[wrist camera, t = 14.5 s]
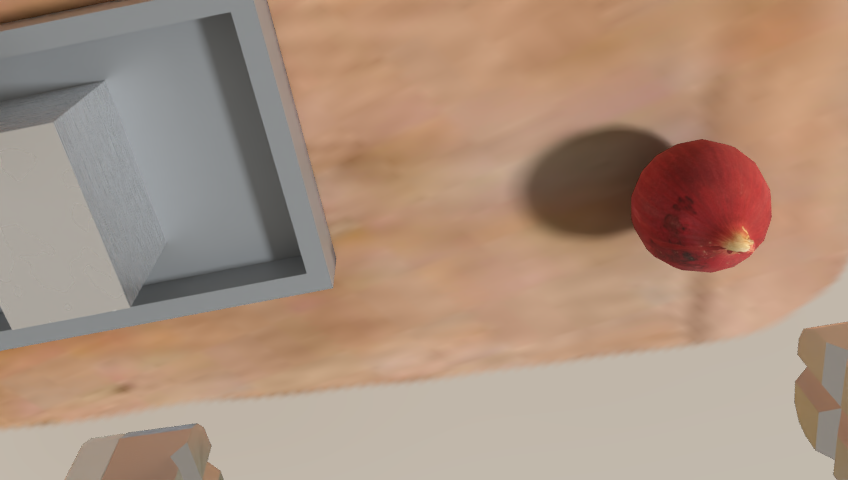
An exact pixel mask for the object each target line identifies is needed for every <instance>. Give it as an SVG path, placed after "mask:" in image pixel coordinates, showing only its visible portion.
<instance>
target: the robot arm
mask: <svg viewBox="0 0 848 480" xmlns="http://www.w3.org/2000/svg"><path fill="white" fill-rule="evenodd" d="M797 355H798V356H799V357H800V358H801V359H802V361H803V362H804V363H805V365H806V366H807V368H806V369H805V370H804V371H803V372H802V374H801V375H800V376H799V377H798V379H797V380H796V381H795V398H794V399H795V400H794V402H795V407H796V411H797V416H798V420H799V423H800V425H801V427H802V429H803V432H804V434H805V436H806V437H807V439H808V440H809V442H810V443H811V445H812V446H813V448H814V449H815V450H816V451H818V452H820V453H822V454H824V455H826V456H828V457H830V458H832V459H834V460H835V463H834V472H833V475H834V477H835V478H836V479H837V480H848V322H843V323H837V324H830V325H824V326H818V327H812V328H806V329H803V331H802V333H801V336H800V338H799V343H798V354H797ZM210 449H211V444H210V442H209V439H208V436H207V434H206V432H205V429H204V427H202V426H201V425H199V424H189V425H182V426H174V427H167V428H159V429H152V430H144V431H137V432H129V433H126V434H117V435H110V436H104V437H97V438H91V439H90V440H88V441H87V442H85V443H84V444H83V445H82V446H81V448H80V450H79V452H78V454H77V456H76V458H75V460H74V462H73V464H72V467H71V468H70V470H69V472H68V474H67V476H66V478H65V480H223V476H222V474H221V471H220V470H219V469H217V468H216V467H214V466H213V465H211V464H210V463H208V462H207V460H208V457H209V453H210Z"/></svg>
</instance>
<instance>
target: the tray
mask: <svg viewBox="0 0 848 480" xmlns="http://www.w3.org/2000/svg"><path fill="white" fill-rule="evenodd" d="M104 80H106V83H107V85H108V88H109V91H110V93H111V96H112V99H113V101H114V104H115V107H116V109H117V112H118V115H119V117H120V120H121V123H122V125H123V128H124V131H125V133H126V136H127V139H128V141H129V144H130V147H131V149H132V152H133V155H134V157H135V160H136V163H137V165H138V168H139V170H140V173H141V176H142V178H143V181H144V184H145V186H146V189H147V192H148V194H149V197H150V200H151V202H152V205H153V208H154V210H155V213H156V216H157V218H158V221H159V224H160V226H161V229H162V232H163V234H164V237H165V240H166V242H167V243H166V245H165V246H164V248H163V250H162V252H161V254H160V255H159V257H158V259H157V261H156V263H155V264H154V266H153V268H152V270H151V272H150V273H149V275H148V277H147V279H146V280H145V282H144V284H143V286H142V288H141V289H140V291H139V293H138V295H137V297H136V298H135V300H134V302H133V304H132V306H131V307H130V308H127V309H122V310H116V311H111V312H106V313H100V314H95V315H90V316H85V317H79V318H74V319H69V320H63V321H58V322H53V323H47V324H42V325H37V326H32V327H26V328H21V329H16V330H12V329H11V327H10V325H9V323H8V321H7V319H6V317H5V315H4V313H3V311H2V309H1V307H0V351H2V350H7V349H12V348H17V347H23V346H28V345H33V344H39V343H44V342H49V341H55V340H60V339H65V338H71V337H76V336H81V335H87V334H92V333H97V332H102V331H108V330H113V329H118V328H124V327H129V326H134V325H140V324H145V323H150V322H156V321H161V320H166V319H171V318H177V317H182V316H187V315H193V314H198V313H203V312H209V311H214V310H219V309H225V308H230V307H235V306H240V305H246V304H251V303H256V302H262V301H267V300H272V299H278V298H283V297H288V296H294V295H299V294H304V293H310V292H315V291H320V290H325V289H331V288H333V284H334V275H335V266H336V256H335V252H334V248H333V244H332V241H331V237H330V233H329V230H328V226H327V222H326V218H325V215H324V211H323V207H322V203H321V200H320V196H319V192H318V189H317V185H316V181H315V177H314V174H313V170H312V166H311V162H310V159H309V155H308V151H307V148H306V144H305V140H304V136H303V133H302V129H301V125H300V122H299V118H298V114H297V110H296V107H295V103H294V99H293V95H292V92H291V88H290V84H289V81H288V77H287V73H286V69H285V66H284V62H283V58H282V54H281V51H280V47H279V43H278V40H277V36H276V32H275V28H274V25H273V21H272V17H271V13H270V10H269V6H268V2H267V0H115V1H110V2H105V3H100V4H96V5H91V6H86V7H81V8H76V9H71V10H66V11H61V12H56V13H51V14H47V15H42V16H37V17H32V18H27V19H22V20H17V21H12V22H7V23H3V24H0V101H4V100H9V99H14V98H19V97H24V96H29V95H34V94H39V93H44V92H49V91H54V90H59V89H64V88H69V87H74V86H79V85H84V84H89V83H94V82H99V81H104Z"/></svg>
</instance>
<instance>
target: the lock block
mask: <svg viewBox="0 0 848 480" xmlns="http://www.w3.org/2000/svg"><path fill="white" fill-rule="evenodd" d="M166 243H167V242H166V240H165V237H164V234H163V232H162V229H161V226H160V224H159V221H158V218H157V216H156V213H155V210H154V208H153V205H152V202H151V200H150V197H149V194H148V192H147V189H146V186H145V184H144V181H143V178H142V176H141V173H140V170H139V168H138V165H137V163H136V160H135V157H134V155H133V152H132V149H131V147H130V144H129V141H128V139H127V136H126V133H125V131H124V128H123V125H122V123H121V120H120V117H119V115H118V112H117V109H116V107H115V104H114V101H113V99H112V96H111V93H110V91H109V88H108V85H107V83H106V80H104V81H99V82H94V83H89V84H84V85H79V86H74V87H69V88H64V89H59V90H54V91H49V92H44V93H39V94H34V95H29V96H24V97H19V98H14V99H9V100H4V101H0V307H1V309H2V311H3V313H4V315H5V317H6V319H7V321H8V323H9V325H10V327H11V329H12V330H16V329H21V328H26V327H32V326H37V325H42V324H47V323H53V322H58V321H63V320H69V319H74V318H79V317H85V316H90V315H95V314H100V313H106V312H111V311H116V310H122V309H127V308H130V307H131V306H132V304H133V302H134V300H135V298H136V297H137V295H138V293H139V291H140V289H141V288H142V286H143V284H144V282H145V280H146V279H147V277H148V275H149V273H150V272H151V270H152V268H153V266H154V264H155V263H156V261H157V259H158V257H159V255H160V254H161V252H162V250H163V248H164V246H165V245H166Z"/></svg>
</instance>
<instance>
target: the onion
mask: <svg viewBox="0 0 848 480" xmlns="http://www.w3.org/2000/svg"><path fill="white" fill-rule="evenodd" d="M771 217H772V216H771V195H770V189H769V187H768V185H767V183H766V181H765V180H764V178H763V176H762V174H761V172H760V170H759V169H758V167H757V165H756V164H755V162H754V161H752V160H751V159H750V158H748V157H747V156H746V155H744V154H743V153H742V152H740V151H739V150H738V149H736V148H735V147H732V146H729V145H726V144H721V143H717V142H712V141H708V140H703V139H701V140H695V141H690V142H685V143H680V144H677V145H675V146H673V147H671V148H669V149H667V150H665V151H664V152H662V153H660V154H658V155H656V157H655V158H654V159H653V160H652V161H651V162H650V163H649V164H648V165H647V166H646V167H645V168H644V169H643V171H642V172H641V174H640V177H639V179H638V181H637V184H636V186H635V189H634V191H633V193H632V196H631V220H632V223H633V225H634V228H635V230H636V232H637V234H638V235H639V237H640V239H641V240H642V242H643V244H644V245H645V247H646V249H647V250H648V251H649V252H650V253H651V254H652V255H654V256H655V257H656V258H658V259H660V260H662V261H664V262H666V263H667V264H669V265H671V266H673V267H675V268H678V269H681V270H688V271H700V272H716V271H719V270H723V269H727V268H731V267H734V266H735V265H737V264H738V263H740V262H742V261H743V260H745V259H746V258H748V257H749V256H750V255H751V254H752V253H753V252H754V251H755V250H756V248H757V247H758V246H759V245H760V244H761V243H762V242H763V241H764V239H765V236H766V233H767V230H768V227H769V224H770V221H771Z"/></svg>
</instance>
